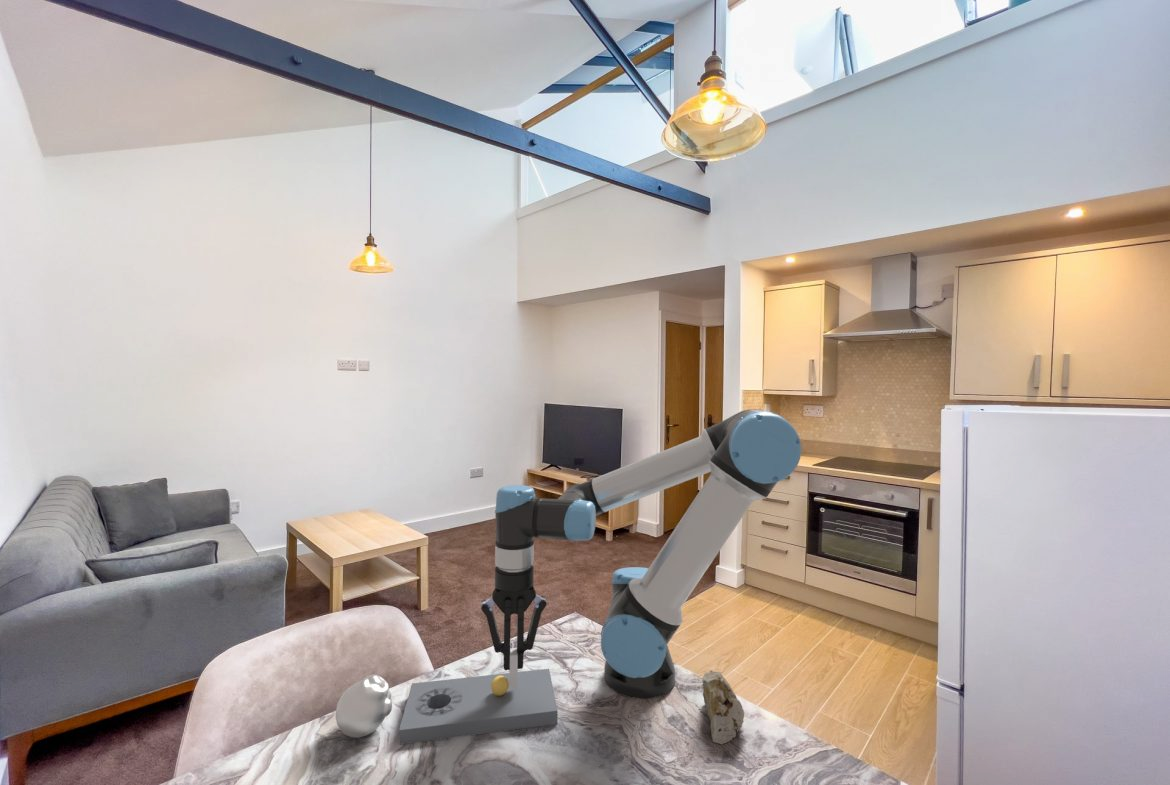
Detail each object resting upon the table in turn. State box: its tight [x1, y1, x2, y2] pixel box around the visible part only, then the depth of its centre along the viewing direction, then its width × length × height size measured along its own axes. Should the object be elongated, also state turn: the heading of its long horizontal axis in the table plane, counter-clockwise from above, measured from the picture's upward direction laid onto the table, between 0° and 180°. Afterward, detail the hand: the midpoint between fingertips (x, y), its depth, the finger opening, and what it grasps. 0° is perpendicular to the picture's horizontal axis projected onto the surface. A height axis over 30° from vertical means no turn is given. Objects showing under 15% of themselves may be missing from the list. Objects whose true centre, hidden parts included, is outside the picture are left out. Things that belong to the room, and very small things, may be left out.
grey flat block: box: [398, 668, 559, 745], centre depth 97 cm, size 28×14×2 cm, turn 101°
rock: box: [702, 669, 745, 745], centre depth 93 cm, size 12×7×10 cm, turn 171°
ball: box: [491, 676, 509, 696], centre depth 97 cm, size 3×3×3 cm
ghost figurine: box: [335, 674, 393, 738], centre depth 90 cm, size 9×10×10 cm
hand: (513, 684), depth 98 cm, fingers closed
